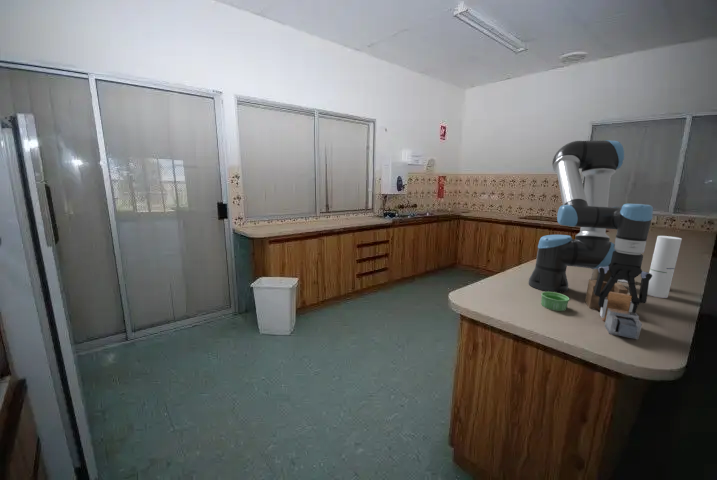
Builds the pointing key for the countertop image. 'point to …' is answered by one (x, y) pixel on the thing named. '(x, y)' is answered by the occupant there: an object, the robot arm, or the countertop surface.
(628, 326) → the brown and grey block
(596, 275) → the pillar candle
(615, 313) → the sleeve
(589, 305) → the socket
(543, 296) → the ramekin
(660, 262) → the cylindrical container
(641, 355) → the countertop surface
